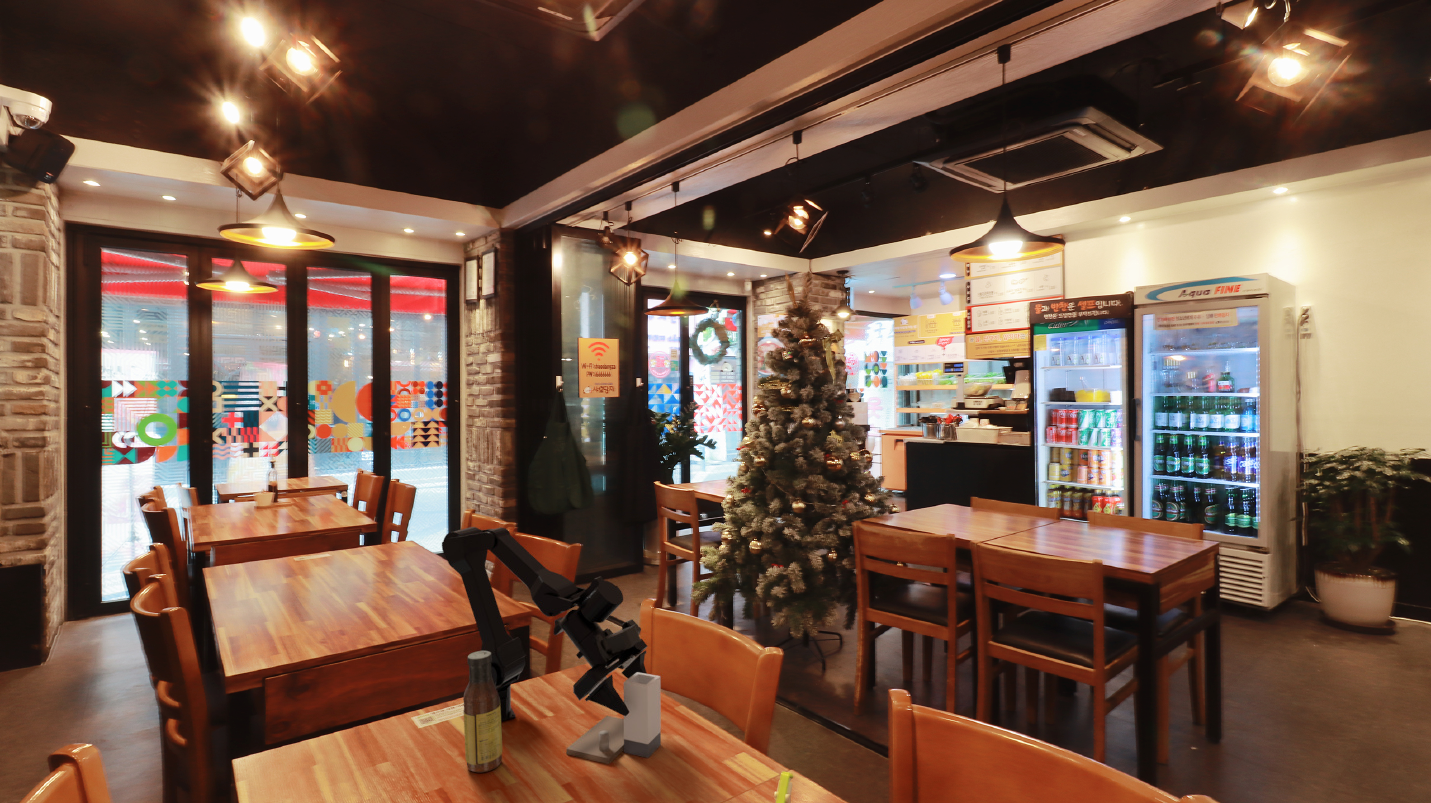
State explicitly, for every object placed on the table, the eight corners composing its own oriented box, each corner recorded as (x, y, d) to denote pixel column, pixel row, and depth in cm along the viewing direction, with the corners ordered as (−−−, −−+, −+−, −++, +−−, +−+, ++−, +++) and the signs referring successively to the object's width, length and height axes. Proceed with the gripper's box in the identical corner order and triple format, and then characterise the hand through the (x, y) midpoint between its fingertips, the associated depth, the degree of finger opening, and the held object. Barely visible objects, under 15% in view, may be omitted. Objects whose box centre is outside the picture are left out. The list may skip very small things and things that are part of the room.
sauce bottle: (507, 756, 126) (507, 648, 125) (493, 775, 119) (492, 661, 119) (473, 755, 126) (472, 647, 126) (457, 773, 120) (456, 660, 120)
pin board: (566, 754, 127) (566, 732, 127) (606, 720, 139) (606, 700, 139) (608, 764, 123) (608, 741, 123) (646, 728, 136) (646, 708, 136)
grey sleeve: (623, 752, 127) (623, 682, 127) (637, 739, 132) (636, 672, 132) (648, 758, 125) (647, 686, 125) (660, 745, 130) (660, 676, 130)
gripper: (586, 626, 122) (642, 698, 118) (638, 597, 139) (688, 659, 135) (549, 664, 125) (603, 736, 121) (605, 631, 142) (653, 693, 138)
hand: (640, 703), depth 128 cm, fingers open, 9 cm apart
